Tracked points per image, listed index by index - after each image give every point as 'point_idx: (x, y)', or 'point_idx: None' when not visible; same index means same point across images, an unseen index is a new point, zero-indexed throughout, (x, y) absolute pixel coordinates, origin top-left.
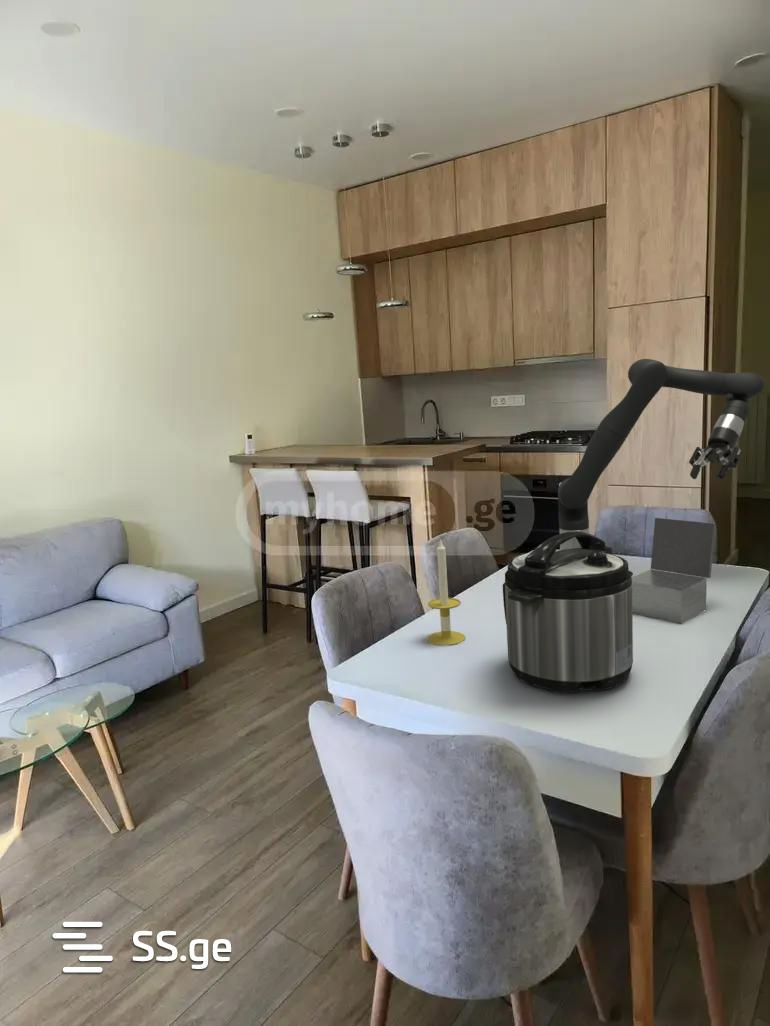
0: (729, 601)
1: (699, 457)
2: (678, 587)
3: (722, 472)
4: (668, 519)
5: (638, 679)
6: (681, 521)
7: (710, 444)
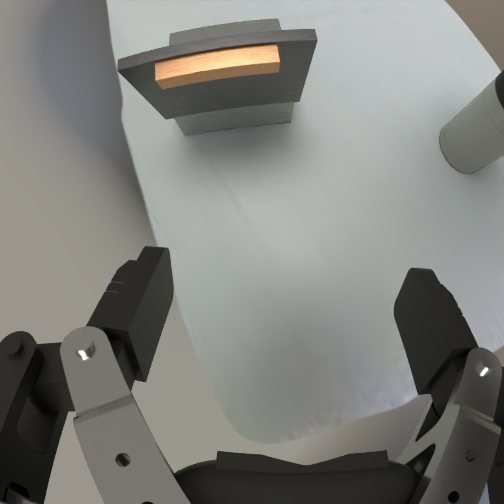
0: (177, 205)
1: (492, 423)
2: (181, 40)
3: (117, 285)
4: (265, 31)
5: None
6: (219, 38)
7: None
